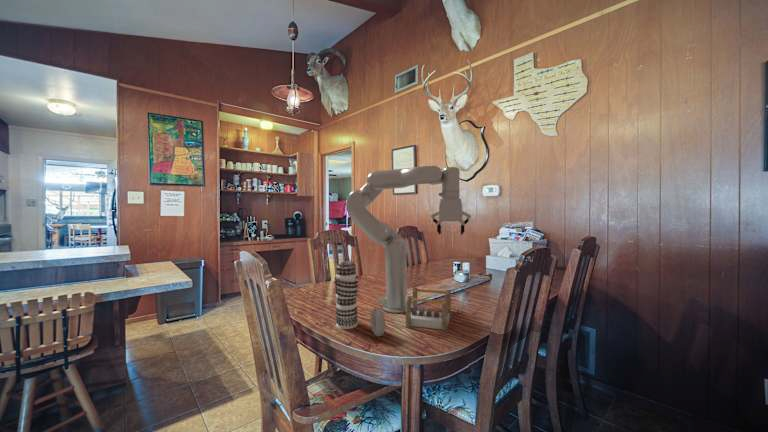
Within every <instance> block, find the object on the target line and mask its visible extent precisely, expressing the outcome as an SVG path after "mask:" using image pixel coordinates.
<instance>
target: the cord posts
mask: <svg viewBox="0 0 768 432" xmlns="http://www.w3.org/2000/svg"><path fill="white" fill-rule="evenodd" d="M417 289H418V287H417V286H414V287H412V296H411V295H407V296H406V312H405V328H406V329H411V328H412V326H411V312H412V309H413V308H414V309H417V310H418V301H411V300H410V299H411V298H418V292H417ZM445 291H446V294H445V298H442V300H441V301H442V302H443V303H441V305H442V307H441V309H442V311H441V312H442V329H441V331H442V332H443V333H448V331H449V324H448V313H449V321H450V320H451V319H452V291H451V289H446V290H445Z"/></svg>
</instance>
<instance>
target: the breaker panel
mask: <svg viewBox="0 0 768 432" xmlns="http://www.w3.org/2000/svg"><path fill="white" fill-rule="evenodd" d="M449 322H450V320H449V313H448V325H449ZM411 327H419V328H428V329H433V330H434V329H435V330H442V311H441V312H440V310H436V309H435V311H432V309H427V310H425V308H424V309H423V308H420V309H418V308H417V309H414V308H413V307H412V308H411Z"/></svg>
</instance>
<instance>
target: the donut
mask: <svg viewBox="0 0 768 432" xmlns="http://www.w3.org/2000/svg"><path fill="white" fill-rule="evenodd" d="M383 311H384V310H382V309H381V308H379V307H374V308H373V309H372V311H371V313H370V326H371V331H372V333H373V334H374V336H375V337H381V336H383V335H384V333H385V332H386V331H385V330H386V319H385V317H386V316H385V314H384V312H383Z"/></svg>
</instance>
